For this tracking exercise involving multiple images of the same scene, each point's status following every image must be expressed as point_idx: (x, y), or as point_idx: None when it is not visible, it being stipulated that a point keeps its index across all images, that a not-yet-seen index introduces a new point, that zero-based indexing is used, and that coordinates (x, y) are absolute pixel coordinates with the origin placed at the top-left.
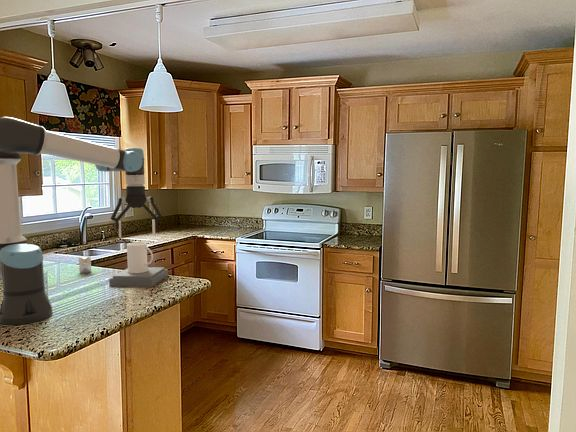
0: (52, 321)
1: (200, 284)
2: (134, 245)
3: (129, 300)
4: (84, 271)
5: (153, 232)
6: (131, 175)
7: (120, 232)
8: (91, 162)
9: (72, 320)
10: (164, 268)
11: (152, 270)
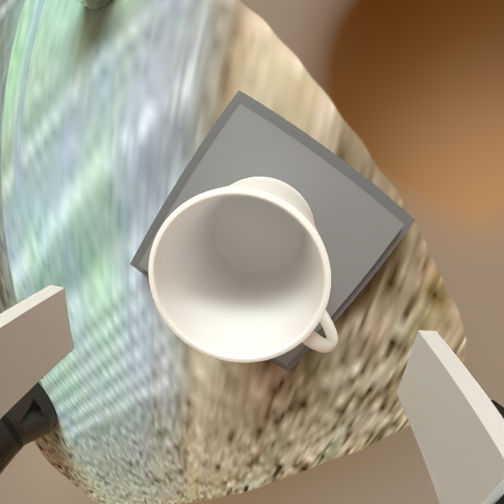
0: (69, 442)
1: None
2: (205, 354)
3: (196, 436)
4: (90, 6)
5: (405, 412)
6: None
7: (41, 371)
8: None
9: (98, 459)
10: (399, 227)
11: (330, 258)
